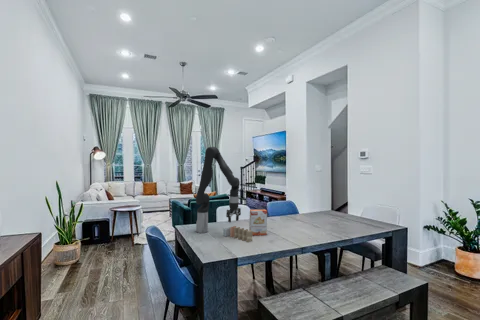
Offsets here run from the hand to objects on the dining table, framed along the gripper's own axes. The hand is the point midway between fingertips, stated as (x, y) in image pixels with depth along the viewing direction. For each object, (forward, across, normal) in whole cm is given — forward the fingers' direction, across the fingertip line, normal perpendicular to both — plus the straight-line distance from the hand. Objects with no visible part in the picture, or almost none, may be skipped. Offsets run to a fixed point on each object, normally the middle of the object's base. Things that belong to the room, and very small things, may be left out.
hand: (233, 221), depth 205 cm
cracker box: (+12, +18, -11) cm, 25 cm away
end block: (+12, 0, +5) cm, 13 cm away
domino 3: (+12, 0, -10) cm, 15 cm away
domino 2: (+12, 0, -5) cm, 13 cm away
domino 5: (+12, 0, -18) cm, 22 cm away
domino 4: (+12, 0, -14) cm, 18 cm away
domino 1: (+12, 0, -1) cm, 12 cm away
